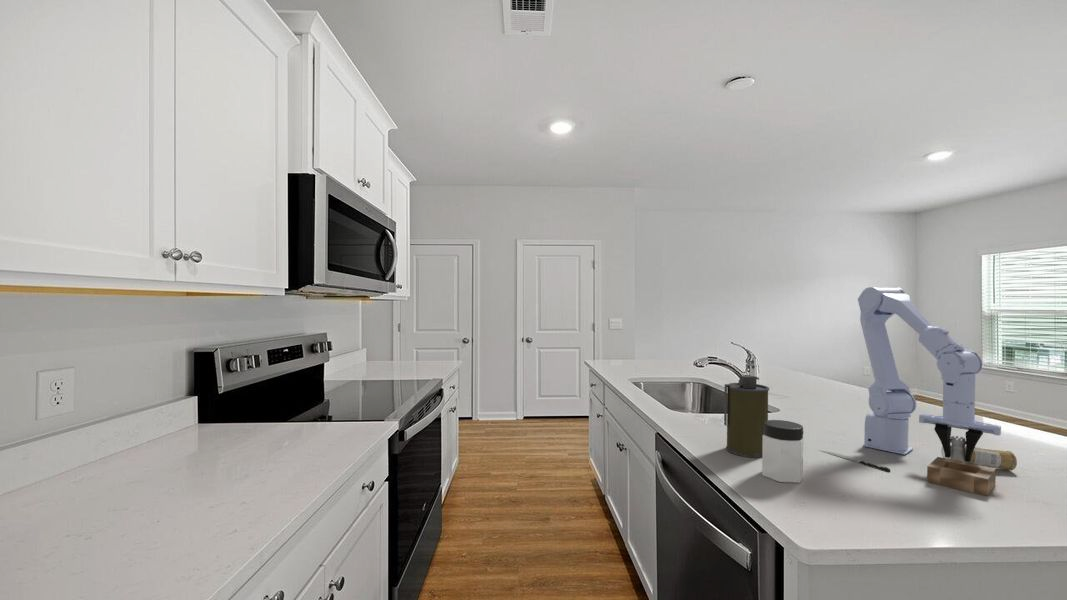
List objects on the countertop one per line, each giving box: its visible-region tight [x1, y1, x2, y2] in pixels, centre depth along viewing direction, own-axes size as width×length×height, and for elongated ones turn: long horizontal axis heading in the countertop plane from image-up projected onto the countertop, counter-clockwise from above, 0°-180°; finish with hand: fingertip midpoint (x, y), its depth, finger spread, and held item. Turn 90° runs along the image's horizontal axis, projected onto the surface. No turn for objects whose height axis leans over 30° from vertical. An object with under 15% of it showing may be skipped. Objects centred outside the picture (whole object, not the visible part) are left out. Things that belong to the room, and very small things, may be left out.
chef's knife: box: [817, 449, 891, 473], centre depth 124 cm, size 19×1×3 cm
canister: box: [723, 375, 770, 459], centre depth 129 cm, size 11×10×20 cm
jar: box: [761, 419, 804, 484], centre depth 111 cm, size 9×8×12 cm
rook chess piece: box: [949, 435, 968, 463], centre depth 115 cm, size 4×4×8 cm
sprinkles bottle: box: [940, 442, 1018, 471], centre depth 118 cm, size 5×5×14 cm
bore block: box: [926, 456, 997, 497], centre depth 108 cm, size 10×10×4 cm
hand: (957, 458), depth 115 cm, fingers open, 3 cm apart
